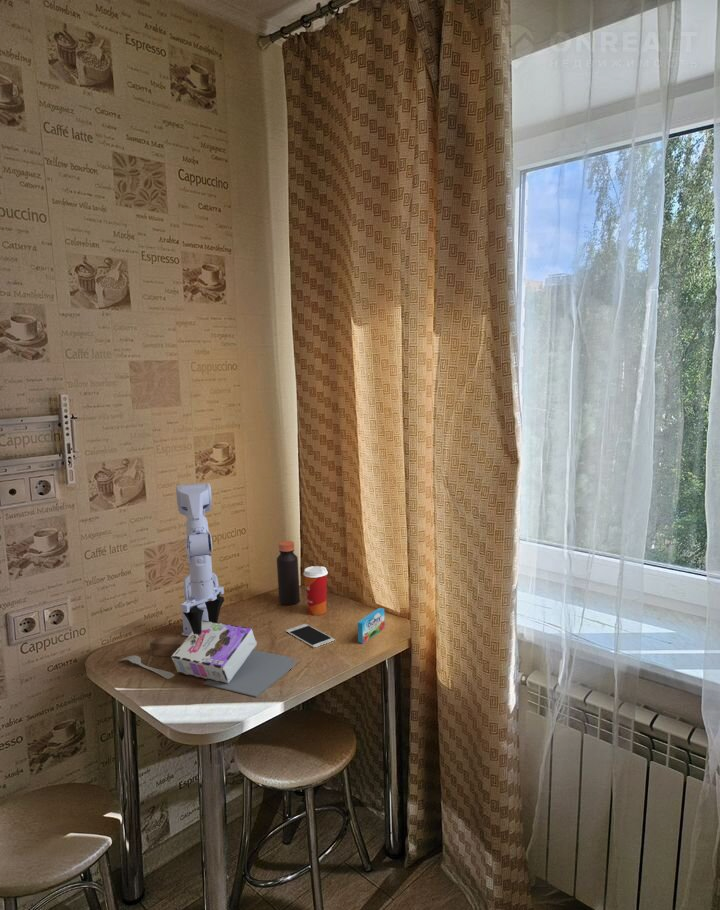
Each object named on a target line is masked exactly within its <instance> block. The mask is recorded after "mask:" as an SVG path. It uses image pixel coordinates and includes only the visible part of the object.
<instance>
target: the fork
mask: <svg viewBox="0 0 720 910" xmlns="http://www.w3.org/2000/svg"><path fill="white" fill-rule="evenodd" d="M121 661H129V662H131V663H132V664H136V665H139V666H140V667H142V668H144V669H146V670H150V671H152V672H154V673H155V674H157V675H159V676H161V677H163V678H165V679H167V680H169V679H171V678H173V677H175V676H176V674H174V673H172V672H171V671H167V670H163V669H160V668H159V669H158V668H154V667H150V666H147V665H146V664H143V663H142V659H141V657H140V656H138V655H130V656H126V657H124V658H122V659H120V660H119V662H121Z"/></svg>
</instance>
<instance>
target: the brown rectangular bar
mask: <svg viewBox="0 0 720 910" xmlns="http://www.w3.org/2000/svg"><path fill="white" fill-rule="evenodd" d="M187 638H188V637H186V638H185V637H166V636H165V637H164V636H156V637H155V638H153V640H152V641H151V642H150V643H149V645H150V646H149V648H150V655H151V656H156V657H157V655H158V657H159V656H161V657H171V656H172V655H173V654H174V653H175V651H176V650H177V649H178V648H179V647H180V646H181V645H182V643H183V642H184V641H185V640H186V639H187Z"/></svg>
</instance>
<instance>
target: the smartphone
mask: <svg viewBox="0 0 720 910" xmlns="http://www.w3.org/2000/svg"><path fill="white" fill-rule="evenodd" d="M287 632H288V633H289V635H290V634H291V636H292V635H293V636H292V637H294V636H295V637H296V638H295V637H294V638H295V639H297V638H298V640H299V639H300V640H302V641H304V642H305V643H304V642H303V643H304V644H306V643H307V644H309V645H311V646H313V647H318V646H320V645H323V644H326V643H329V642H331V641H334V640H335V641H336V639H335V638H333V637H332V636H330V635H328V634H326V633H324V632H322V631H321V630H318V629H317V628H315V627H312V626H311V625H309V624H307V623H303V624H300V625H298V626H295V627H294V626H293V627H291V628H287V629H285V633H287ZM288 633H287V634H288ZM300 640H299V641H300ZM302 641H301V642H302ZM307 644H306V645H307ZM309 645H308V646H309ZM311 646H310V647H311Z"/></svg>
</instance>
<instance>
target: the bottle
mask: <svg viewBox="0 0 720 910" xmlns="http://www.w3.org/2000/svg"><path fill="white" fill-rule="evenodd" d="M278 550H279V555H278V556H277V557H276V570H277V586H278V587H277V588H278V602H279V604H280V605H282V606H294V605H295V606H296V605H297V604H299V603H300V602H301V598H300V595H301V594H300V579H299V578H300V577H299V560H298V558H299V557H298V555H296V554H295V553H294V551H295V542H294V541H291V540H285V541H281V542H279V543H278Z"/></svg>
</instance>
